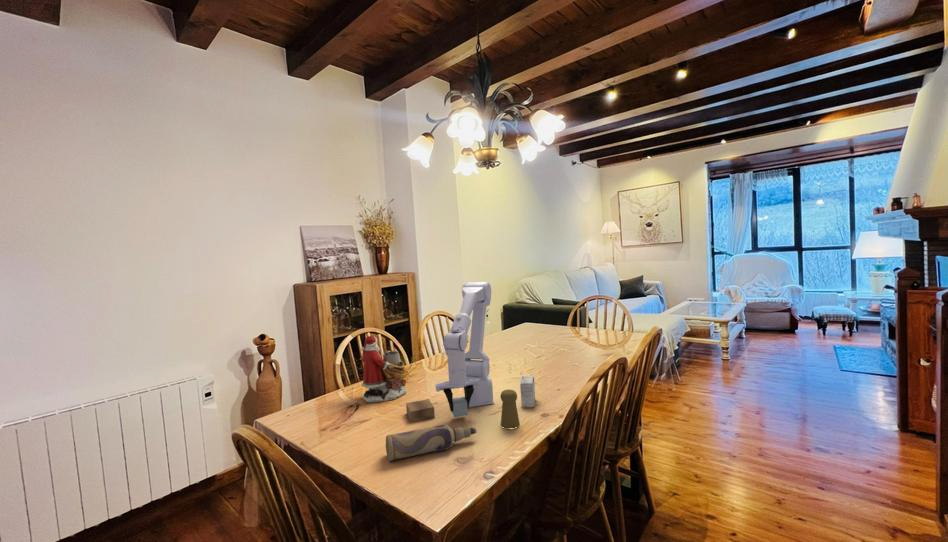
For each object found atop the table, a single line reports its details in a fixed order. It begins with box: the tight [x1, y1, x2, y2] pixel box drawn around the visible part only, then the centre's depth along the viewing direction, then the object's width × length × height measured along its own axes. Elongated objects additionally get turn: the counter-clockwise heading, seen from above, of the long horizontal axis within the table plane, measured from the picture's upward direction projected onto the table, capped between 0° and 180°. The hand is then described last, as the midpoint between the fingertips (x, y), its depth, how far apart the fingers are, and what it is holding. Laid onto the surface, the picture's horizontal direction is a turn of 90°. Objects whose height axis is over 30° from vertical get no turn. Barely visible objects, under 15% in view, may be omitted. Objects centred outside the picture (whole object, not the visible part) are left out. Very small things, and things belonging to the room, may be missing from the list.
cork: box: [500, 389, 521, 429], centre depth 123 cm, size 6×6×11 cm
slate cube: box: [451, 396, 469, 418], centre depth 130 cm, size 4×4×4 cm
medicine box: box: [519, 375, 536, 408], centre depth 140 cm, size 8×4×9 cm, turn 168°
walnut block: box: [405, 398, 436, 423], centre depth 134 cm, size 8×8×4 cm
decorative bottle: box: [385, 424, 477, 462], centre depth 110 cm, size 26×8×7 cm, turn 109°
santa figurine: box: [360, 335, 407, 404], centre depth 154 cm, size 17×14×25 cm
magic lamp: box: [401, 356, 418, 384], centre depth 170 cm, size 7×18×11 cm, turn 94°
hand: (459, 409), depth 130 cm, fingers closed on slate cube, 4 cm apart
